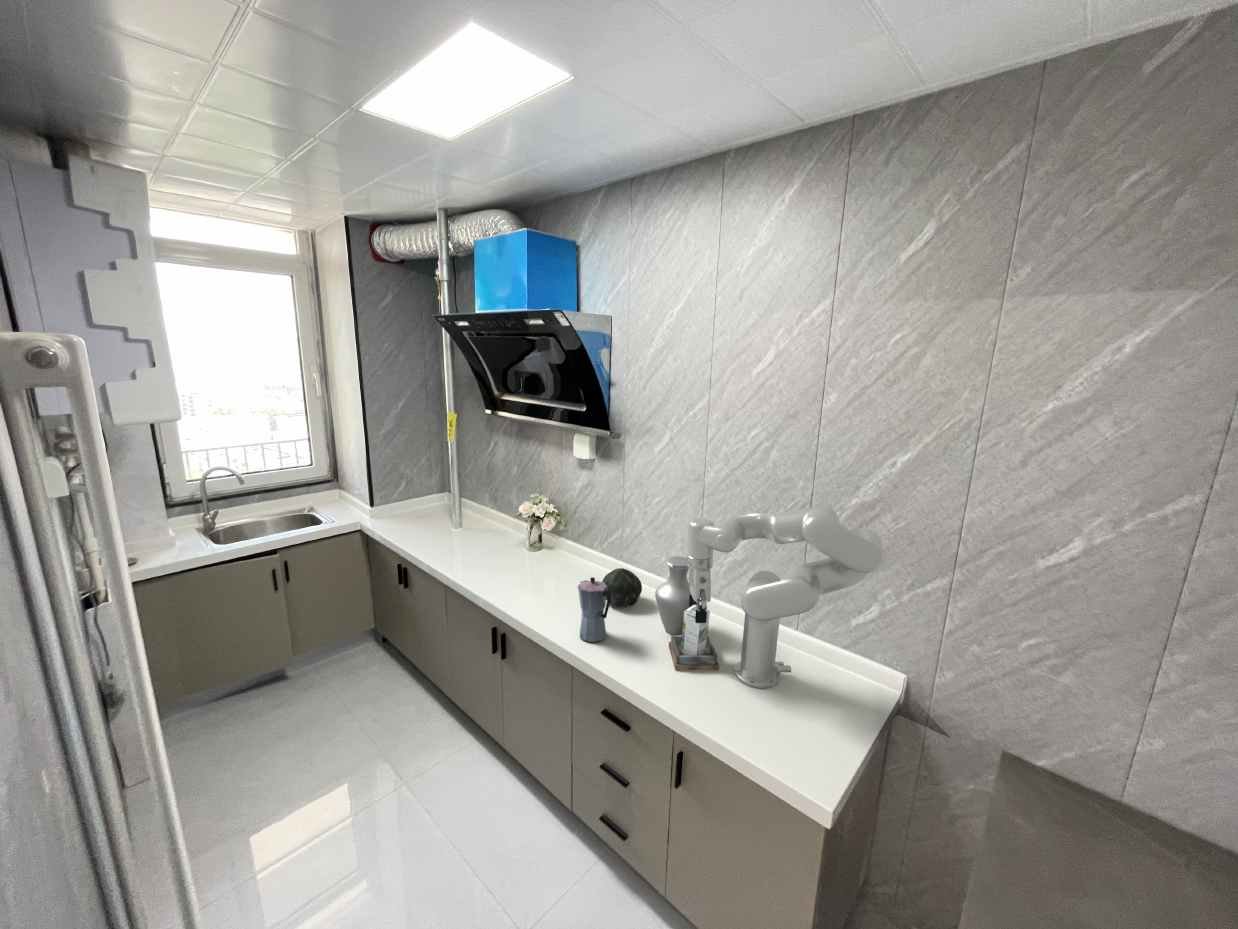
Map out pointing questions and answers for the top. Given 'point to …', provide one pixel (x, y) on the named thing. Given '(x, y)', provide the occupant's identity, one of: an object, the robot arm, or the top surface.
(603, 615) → the moka pot
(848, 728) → the top surface
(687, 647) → the syrup box
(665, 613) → the vase
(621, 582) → the squash
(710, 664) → the dock
